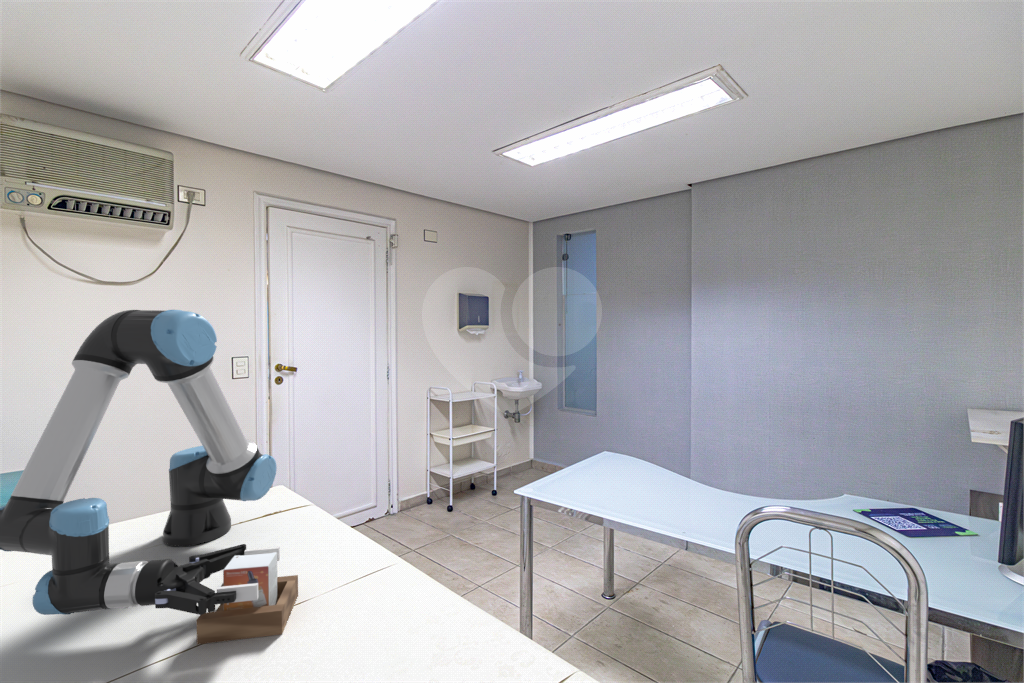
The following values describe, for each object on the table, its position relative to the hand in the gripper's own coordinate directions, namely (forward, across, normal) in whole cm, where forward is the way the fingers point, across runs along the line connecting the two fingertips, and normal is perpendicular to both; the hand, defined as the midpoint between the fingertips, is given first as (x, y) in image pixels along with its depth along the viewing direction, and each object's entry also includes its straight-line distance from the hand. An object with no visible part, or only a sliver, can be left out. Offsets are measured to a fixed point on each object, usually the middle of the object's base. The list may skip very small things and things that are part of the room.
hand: (269, 571), depth 90 cm
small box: (-3, 0, -8) cm, 9 cm away
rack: (-3, 0, -9) cm, 10 cm away
